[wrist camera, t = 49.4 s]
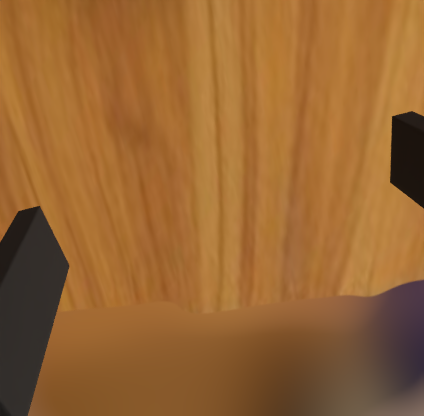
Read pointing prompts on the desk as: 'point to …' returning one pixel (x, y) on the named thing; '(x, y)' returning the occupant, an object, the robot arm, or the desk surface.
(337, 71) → the desk surface
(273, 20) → the desk surface
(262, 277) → the desk surface
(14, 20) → the desk surface
